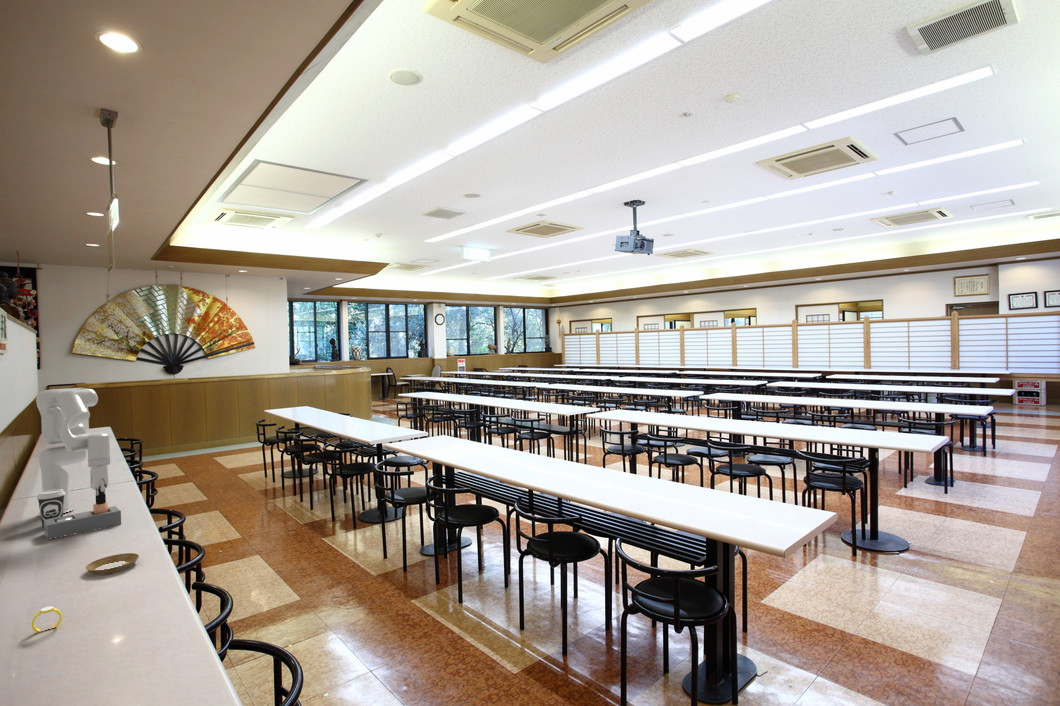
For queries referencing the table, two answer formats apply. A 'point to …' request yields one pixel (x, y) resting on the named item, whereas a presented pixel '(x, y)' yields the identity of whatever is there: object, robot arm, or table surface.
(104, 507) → the peach rounded cylinder
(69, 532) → the plunger housing
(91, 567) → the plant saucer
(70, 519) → the metal plunger
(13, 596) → the table surface
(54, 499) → the coffee cup
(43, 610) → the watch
